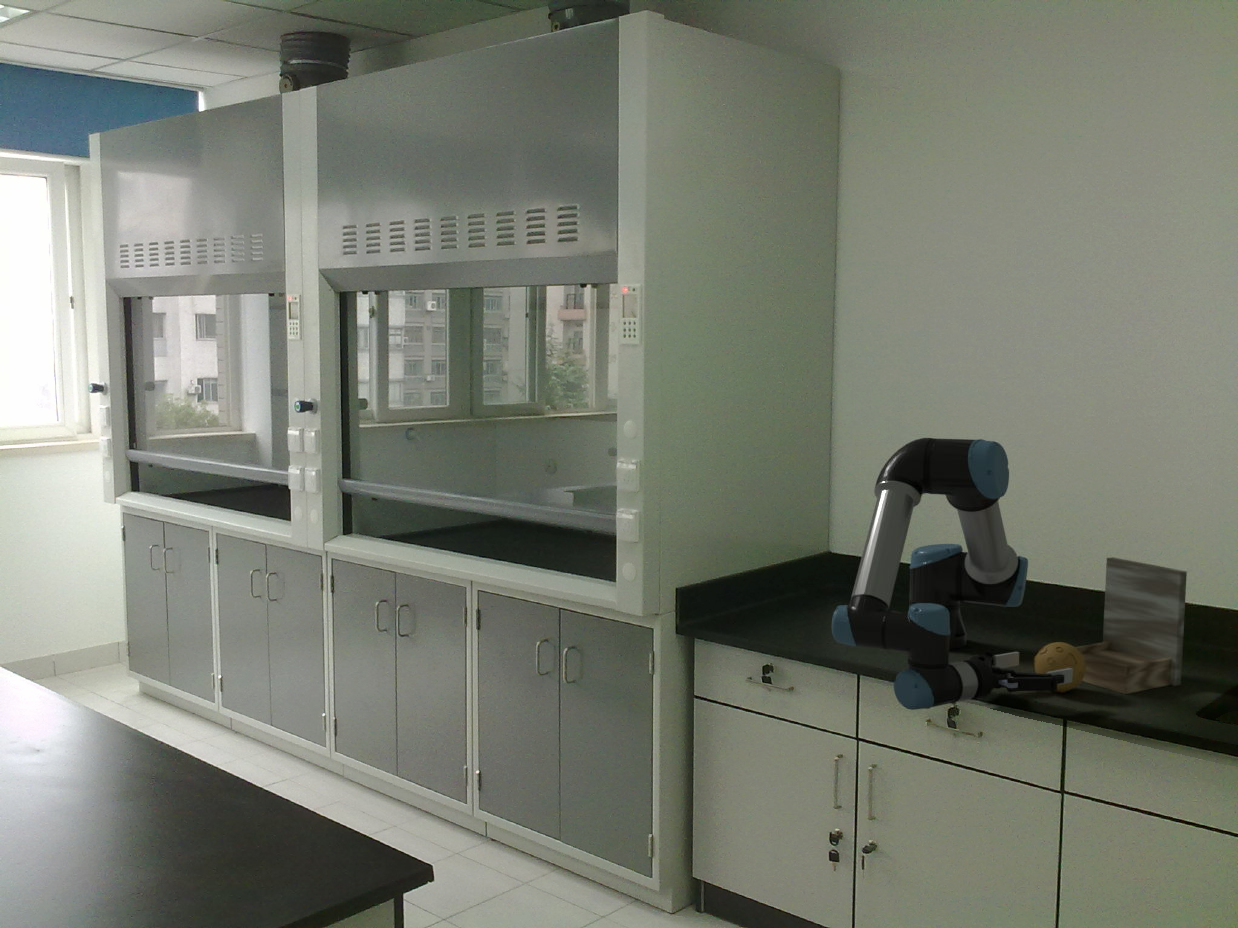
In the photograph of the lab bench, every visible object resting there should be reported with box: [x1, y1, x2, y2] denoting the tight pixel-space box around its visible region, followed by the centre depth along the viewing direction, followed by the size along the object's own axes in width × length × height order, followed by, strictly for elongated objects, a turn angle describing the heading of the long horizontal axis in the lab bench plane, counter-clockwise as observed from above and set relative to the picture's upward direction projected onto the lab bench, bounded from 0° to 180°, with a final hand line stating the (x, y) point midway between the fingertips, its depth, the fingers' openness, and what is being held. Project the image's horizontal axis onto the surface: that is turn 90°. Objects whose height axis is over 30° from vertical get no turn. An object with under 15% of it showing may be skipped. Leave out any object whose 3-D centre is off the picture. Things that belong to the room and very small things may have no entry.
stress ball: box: [1033, 641, 1086, 693], centre depth 237 cm, size 10×10×10 cm
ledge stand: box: [1074, 556, 1188, 695], centre depth 245 cm, size 16×18×24 cm
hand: (1043, 666), depth 234 cm, fingers open, 13 cm apart
